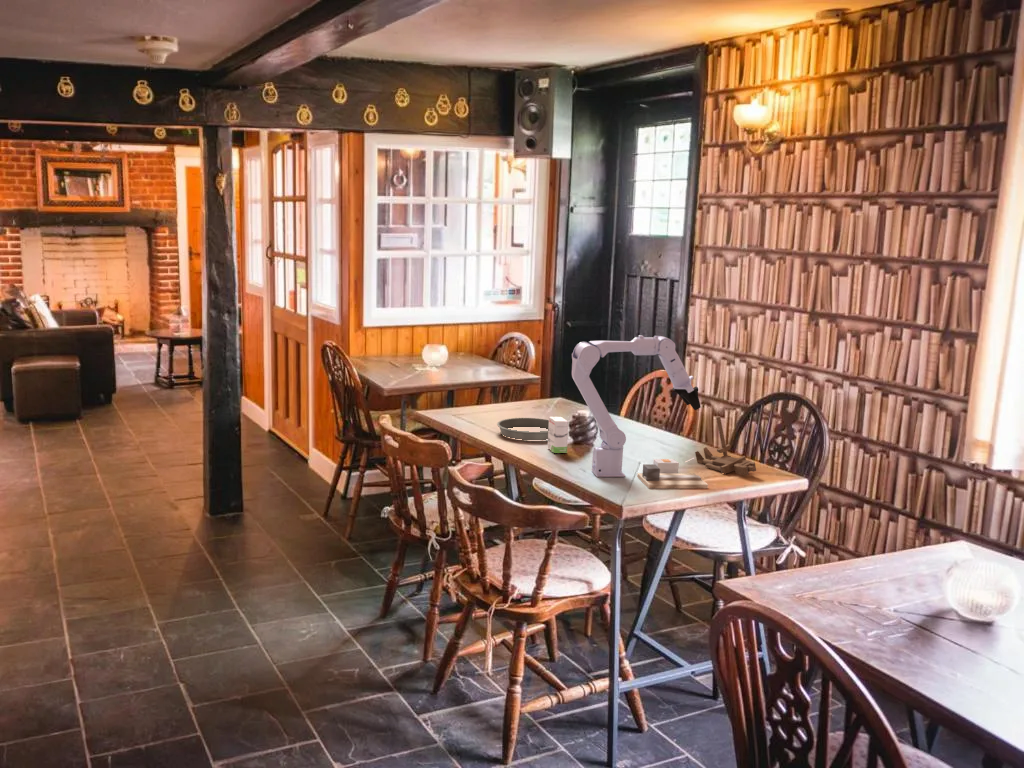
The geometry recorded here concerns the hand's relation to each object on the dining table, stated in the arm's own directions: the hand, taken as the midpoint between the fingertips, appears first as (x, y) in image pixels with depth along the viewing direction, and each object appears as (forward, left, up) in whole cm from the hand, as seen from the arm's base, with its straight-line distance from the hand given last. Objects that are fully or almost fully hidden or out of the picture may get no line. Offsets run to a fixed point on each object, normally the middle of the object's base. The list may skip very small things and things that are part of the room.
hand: (693, 406), depth 308 cm
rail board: (-9, -11, -23) cm, 27 cm away
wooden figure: (+14, +4, -23) cm, 27 cm away
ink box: (-39, +29, -23) cm, 53 cm away
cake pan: (-45, +54, -23) cm, 74 cm away
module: (-8, +1, -23) cm, 24 cm away
